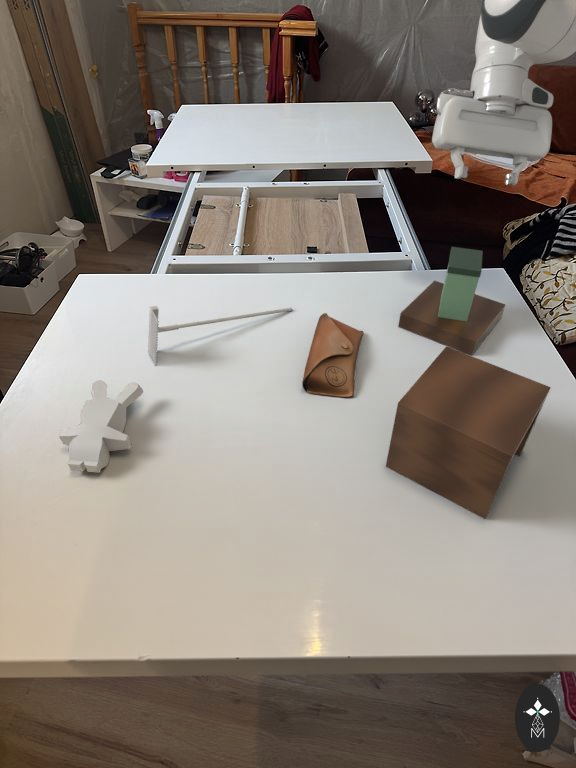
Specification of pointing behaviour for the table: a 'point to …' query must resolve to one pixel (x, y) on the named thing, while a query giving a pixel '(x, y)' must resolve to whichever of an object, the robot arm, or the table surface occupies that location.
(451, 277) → the green lidded box
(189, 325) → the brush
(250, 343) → the table surface
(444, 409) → the upper shelf
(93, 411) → the white musician cutout
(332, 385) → the sunglasses case
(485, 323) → the lower shelf
